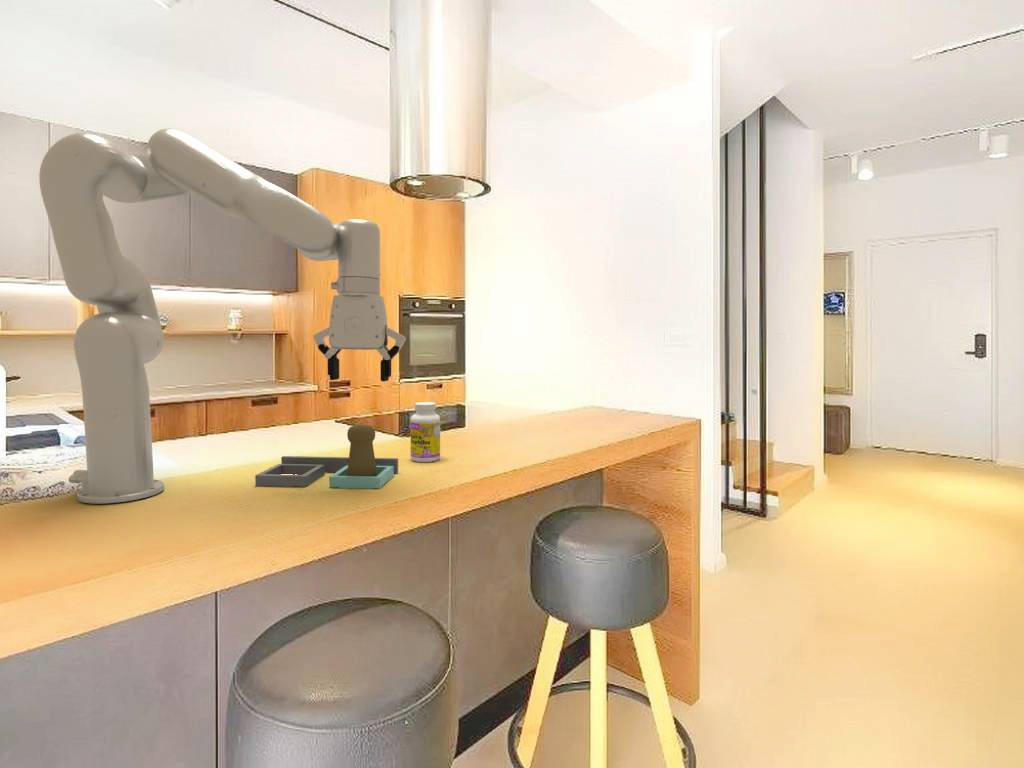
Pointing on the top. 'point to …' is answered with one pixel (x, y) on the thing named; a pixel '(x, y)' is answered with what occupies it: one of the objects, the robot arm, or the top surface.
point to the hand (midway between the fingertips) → (359, 380)
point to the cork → (361, 451)
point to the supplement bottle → (425, 433)
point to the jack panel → (317, 466)
